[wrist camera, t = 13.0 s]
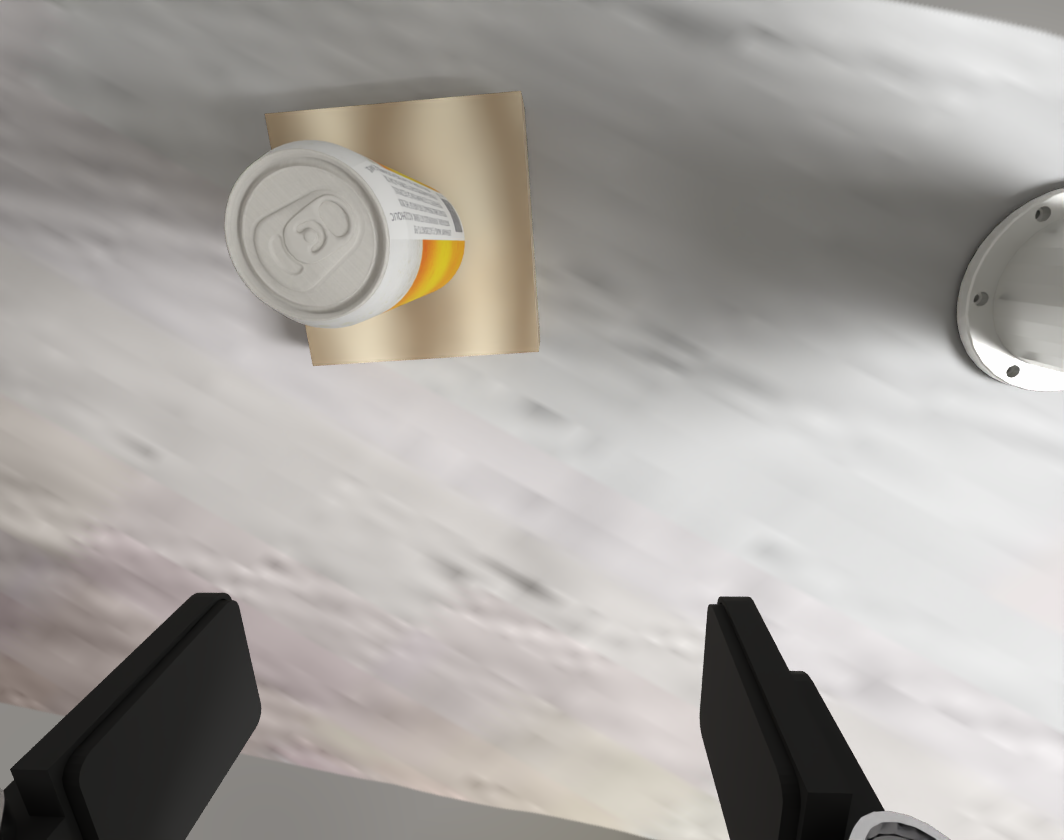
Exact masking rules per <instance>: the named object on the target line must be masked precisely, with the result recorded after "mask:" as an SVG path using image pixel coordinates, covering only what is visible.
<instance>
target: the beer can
mask: <svg viewBox="0 0 1064 840" xmlns="http://www.w3.org/2000/svg"><path fill="white" fill-rule="evenodd" d="M224 229H225V239H226V244H227V248H228V252H229V255H230V258H231V260H232V262H233V265H234V267H235V269H236V271H237V273H238V274H239V276H240V278H241V279H242V280H243V282H244V283H245V285H246V286H247V287H248V288H249V289H250V290H251V292H252V293H253V294H254V295H255V296H256V297H258V298H259V299H260V300H261V301H262V302H264V303H265V304H266V305H268V306H269V307H271V308H272V309H274V310H276V311H277V312H279V313H281V314H282V315H284V316H285V317H287V318H289V319H291V320H294V321H296V322H299V323H301V324H304V325H308V326H312V327H318V328H343V327H347V326H352V325H355V324H358V323H360V322H363V321H365V320H368V319H370V318H372V317H375V316H377V315H380V314H382V313H384V312H387V311H389V310H391V309H394V308H396V307H399V306H401V305H403V304H406V303H408V302H411V301H413V300H415V299H418V298H420V297H422V296H425V295H427V294H430V293H432V292H434V291H436V290H438V289H440V288H442V287H443V286H444V285H446V284H447V283H448V282H449V281H450V280H451V279H452V278H453V277H454V275H455V274H456V272H457V271H458V269H459V267H460V264H461V262H462V259H463V255H464V249H465V236H464V230H463V226H462V222H461V220H460V217H459V215H458V213H457V211H456V210H455V208H454V207H453V205H452V204H451V203H450V202H449V201H448V199H447V198H446V197H444V196H443V195H442V194H441V193H440V192H438V191H437V190H435V189H433V188H431V187H429V186H427V185H425V184H423V183H421V182H419V181H416V180H414V179H412V178H410V177H408V176H406V175H404V174H401V173H399V172H397V171H395V170H393V169H391V168H388V167H386V166H384V165H382V164H380V163H378V162H375V161H373V160H371V159H369V158H367V157H365V156H362V155H360V154H358V153H356V152H354V151H352V150H350V149H347V148H345V147H342V146H340V145H337V144H333V143H330V142H325V141H318V140H302V141H294V142H290V143H287V144H283V145H281V146H279V147H276V148H274V149H272V150H271V151H269V152H267V153H266V154H264V155H263V156H262V157H260V158H259V159H258V160H256V161H255V162H253V163H252V164H251V165H250V166H248V167H247V169H246V170H245V171H244V172H243V173H242V174H241V175H240V177H239V178H238V179H237V181H236V183H235V184H234V186H233V188H232V190H231V193H230V195H229V198H228V201H227V205H226V210H225V219H224Z"/></svg>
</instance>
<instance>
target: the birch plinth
mask: <svg viewBox="0 0 1064 840" xmlns="http://www.w3.org/2000/svg"><path fill="white" fill-rule="evenodd" d="M265 119H266V124H267V129H268V134H269V140H270V145H271V150H272V149H274V148H276V147H279V146H281V145H283V144H287V143H290V142H294V141H302V140H318V141H325V142H330V143H333V144H337V145H340V146H342V147H345V148H347V149H350V150H352V151H354V152H356V153H358V154H360V155H362V156H365V157H367V158H369V159H371V160H373V161H375V162H378V163H380V164H382V165H384V166H386V167H388V168H391V169H393V170H395V171H397V172H399V173H401V174H404V175H406V176H408V177H410V178H412V179H414V180H416V181H419V182H421V183H423V184H425V185H427V186H429V187H431V188H433V189H435V190H437V191H438V192H440V193H441V194H442V195H443V196H444V197H446V198H447V199H448V201H449V202H450V203H451V204H452V205H453V207H454V208H455V210H456V211H457V213H458V215H459V217H460V220H461V222H462V226H463V230H464V236H465V249H464V255H463V259H462V262H461V264H460V267H459V269H458V271H457V272H456V274H455V275H454V277H453V278H452V279H451V280H450V281H449V282H448V283H447V284H446V285H444V286H443V287H442V288H440V289H438V290H436V291H434V292H432V293H430V294H427V295H425V296H422V297H420V298H418V299H415V300H413V301H411V302H408V303H406V304H403V305H401V306H399V307H396V308H394V309H391V310H389V311H387V312H384V313H382V314H380V315H377V316H375V317H372V318H370V319H368V320H365V321H363V322H360V323H358V324H355V325H352V326H347V327H343V328H318V327H312V326H308V325H305V327H306V332H307V338H308V343H309V348H310V353H311V358H312V364H313V366H321V365H336V364H352V363H368V362H384V361H399V360H415V359H431V358H446V357H462V356H478V355H494V354H509V353H525V352H539V345H540V332H539V317H538V302H537V287H536V272H535V257H534V242H533V228H532V213H531V198H530V183H529V168H528V153H527V138H526V123H525V108H524V103H523V99H522V94H521V91H513V92H502V93H491V94H480V95H469V96H458V97H446V98H435V99H424V100H413V101H402V102H391V103H379V104H368V105H357V106H346V107H335V108H324V109H312V110H301V111H290V112H279V113H268V114H265Z"/></svg>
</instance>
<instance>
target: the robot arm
mask: <svg viewBox="0 0 1064 840" xmlns="http://www.w3.org/2000/svg"><path fill="white" fill-rule="evenodd" d="M957 324H958V329H959V334H960V339H961V341H962V343H963V345H964V347H965V350H966V352H967V354H968V355H969V357H970V358H971V359H972V360H973V362H974V363H975V364H976V365H977V367H979V368H980V369H981V370H982V371H984V372H985V373H986V374H988V375H989V376H990V377H992V378H994V379H996V380H998V381H1001V382H1003V383H1005V384H1008V385H1011V386H1015V387H1018V388H1021V389H1025V390H1033V391H1041V392H1045V391H1062V390H1064V188H1061V189H1057V190H1053V191H1051V192H1048V193H1046V194H1044V195H1042V196H1039V197H1037V198H1035V199H1033V200H1031V201H1029V202H1028V203H1026V204H1025V205H1023V206H1022V207H1020V208H1019V209H1017V210H1015V211H1014V212H1012V213H1011V214H1010V215H1009V216H1008V217H1007V218H1005V219H1004V220H1003V221H1002V222H1001V223H1000V224H999V225H998V226H997V227H995V228H994V229H993V231H992V232H991V233H990V234H989V236H988V237H987V238H986V239H985V240H984V242H983V243H982V244H981V245H980V247H979V248H978V250H977V252H976V253H975V255H974V257H973V258H972V260H971V262H970V263H969V265H968V268H967V270H966V273H965V275H964V278H963V280H962V283H961V287H960V292H959V297H958V302H957ZM260 715H261V703H260V698H259V694H258V689H257V685H256V680H255V676H254V671H253V667H252V662H251V658H250V653H249V649H248V645H247V640H246V636H245V631H244V627H243V622H242V618H241V613H240V609H239V605H238V603H237V602H236V601H233V600H232V599H231V597H230V596H229V595H228V594H226V593H196V594H194V595H192V596H191V597H190V598H189V599H188V600H187V601H186V602H185V603H184V604H182V605H181V606H180V607H179V608H178V609H177V610H176V611H175V612H174V613H173V614H172V615H171V616H170V617H169V618H168V619H167V620H166V621H165V622H164V623H163V624H162V625H160V626H159V627H158V628H157V629H156V630H155V631H154V632H153V633H152V634H151V635H150V636H149V637H148V638H147V639H146V640H145V641H144V642H143V643H142V644H141V645H140V646H139V647H137V648H136V649H135V650H134V651H133V652H132V653H131V654H130V655H129V656H128V657H127V658H126V659H125V660H124V661H123V662H122V663H121V664H120V665H119V666H118V667H117V668H115V669H114V670H113V671H112V672H111V673H110V674H109V675H108V676H107V677H106V678H105V679H104V680H103V681H102V682H101V683H100V684H99V685H98V686H97V687H96V688H95V689H94V690H92V691H91V692H90V693H89V694H88V695H87V696H86V697H85V698H84V699H83V700H82V701H81V702H80V703H79V704H78V705H77V706H76V707H75V708H74V709H73V710H72V711H70V712H69V713H68V714H67V715H66V716H65V717H64V718H63V719H62V720H61V721H60V722H59V723H58V724H57V725H56V726H55V727H54V728H53V729H52V730H51V731H50V732H48V733H47V734H46V735H45V736H44V737H43V738H42V739H41V740H40V741H39V742H38V743H37V744H36V745H35V746H34V747H33V748H32V749H31V750H30V751H29V752H28V753H27V754H26V755H24V756H23V757H22V758H21V759H20V760H19V761H18V762H17V763H16V764H15V765H14V766H13V767H12V768H11V769H10V770H11V772H12V775H13V777H14V781H12V782H11V783H10V784H9V785H8V786H7V787H6V788H5V789H4V790H2V789H1V788H0V840H185V839H186V837H187V836H188V834H189V832H190V831H191V829H192V828H193V826H194V825H195V823H196V821H197V820H198V818H199V817H200V815H201V813H202V812H203V810H204V809H205V807H206V806H207V804H208V802H209V801H210V799H211V798H212V796H213V795H214V793H215V791H216V790H217V788H218V787H219V785H220V783H221V782H222V780H223V779H224V777H225V775H226V774H227V772H228V771H229V769H230V768H231V766H232V764H233V763H234V761H235V760H236V758H237V757H238V755H239V753H240V752H241V750H242V749H243V747H244V746H245V744H246V742H247V741H248V739H249V738H250V736H251V735H252V733H253V731H254V730H255V728H256V726H257V725H258V722H259V719H260ZM700 728H701V734H702V738H703V742H704V746H705V749H706V753H707V757H708V760H709V764H710V768H711V771H712V775H713V779H714V782H715V786H716V790H717V793H718V797H719V801H720V804H721V808H722V812H723V815H724V819H725V822H726V826H727V830H728V833H729V837H730V840H950V839H949V838H948V837H947V836H945V835H944V834H942V833H941V832H939V831H938V830H936V829H935V828H933V827H932V826H930V825H929V824H927V823H925V822H922V821H920V820H918V819H916V818H913V817H911V816H909V815H905V814H901V813H896V812H892V811H885V810H884V808H883V807H882V805H881V803H880V801H879V799H878V798H877V796H876V794H875V792H874V790H873V789H872V787H871V785H870V783H869V782H868V780H867V778H866V776H865V774H864V773H863V771H862V769H861V767H860V765H859V764H858V762H857V760H856V758H855V756H854V755H853V753H852V751H851V749H850V747H849V746H848V744H847V742H846V740H845V738H844V737H843V735H842V733H841V731H840V730H839V728H838V726H837V724H836V722H835V721H834V719H833V717H832V715H831V713H830V712H829V710H828V708H827V706H826V704H825V703H824V701H823V699H822V697H821V695H820V694H819V692H818V690H817V688H816V686H815V685H814V683H813V681H812V680H811V678H810V677H809V675H808V674H806V673H805V672H803V671H789V669H788V667H787V665H786V663H785V661H784V659H783V658H782V656H781V654H780V652H779V650H778V648H777V646H776V644H775V642H774V640H773V638H772V636H771V634H770V632H769V630H768V629H767V627H766V625H765V623H764V621H763V619H762V617H761V615H760V613H759V611H758V609H757V607H756V605H755V603H754V601H753V600H752V599H751V598H750V597H719V599H718V602H717V604H710V605H709V606H708V611H707V624H706V637H705V650H704V664H703V677H702V690H701V703H700Z"/></svg>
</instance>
